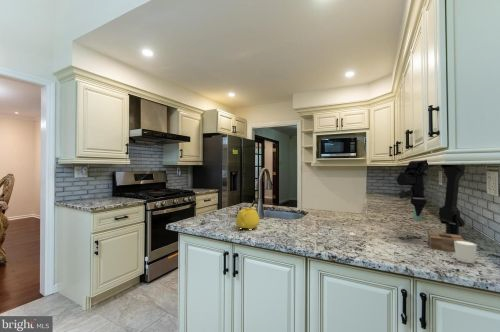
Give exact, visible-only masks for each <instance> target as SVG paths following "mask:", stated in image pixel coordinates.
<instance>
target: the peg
mask: <svg viewBox="0 0 500 332" xmlns="http://www.w3.org/2000/svg"><path fill="white" fill-rule="evenodd" d="M413 221H415V222H422V213H421V214H420V216H417V215H416V211H415V207H414V206H413Z"/></svg>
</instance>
